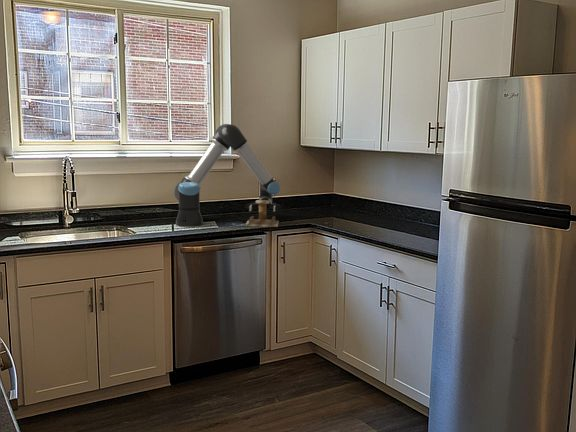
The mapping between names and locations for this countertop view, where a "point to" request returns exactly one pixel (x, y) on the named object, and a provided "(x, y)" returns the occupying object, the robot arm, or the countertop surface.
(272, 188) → the robot arm
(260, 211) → the bobbin
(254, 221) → the board
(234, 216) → the countertop surface
